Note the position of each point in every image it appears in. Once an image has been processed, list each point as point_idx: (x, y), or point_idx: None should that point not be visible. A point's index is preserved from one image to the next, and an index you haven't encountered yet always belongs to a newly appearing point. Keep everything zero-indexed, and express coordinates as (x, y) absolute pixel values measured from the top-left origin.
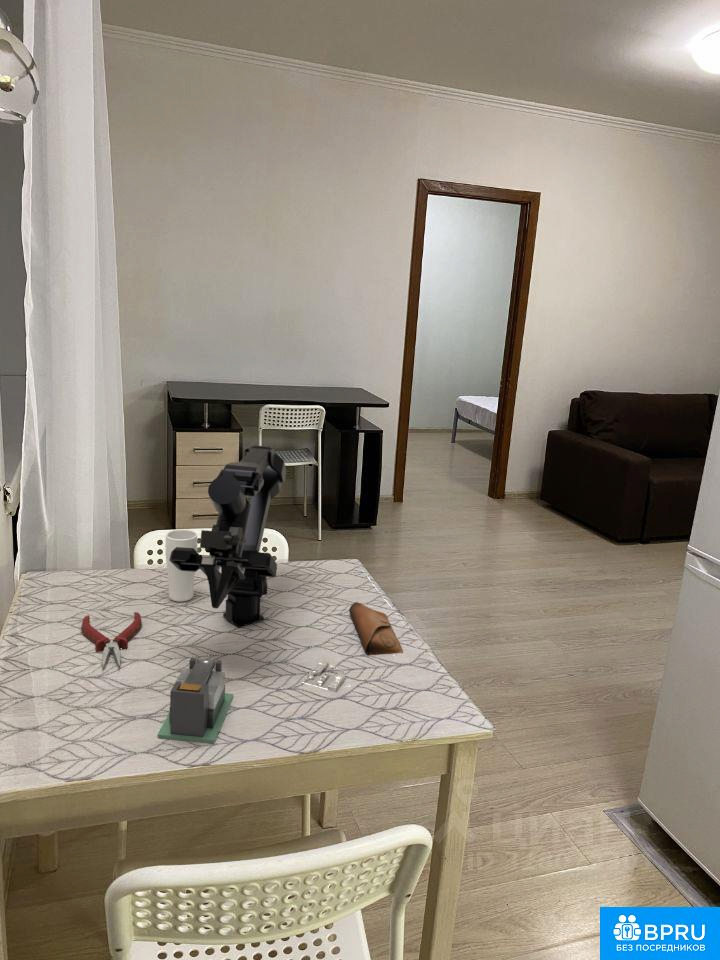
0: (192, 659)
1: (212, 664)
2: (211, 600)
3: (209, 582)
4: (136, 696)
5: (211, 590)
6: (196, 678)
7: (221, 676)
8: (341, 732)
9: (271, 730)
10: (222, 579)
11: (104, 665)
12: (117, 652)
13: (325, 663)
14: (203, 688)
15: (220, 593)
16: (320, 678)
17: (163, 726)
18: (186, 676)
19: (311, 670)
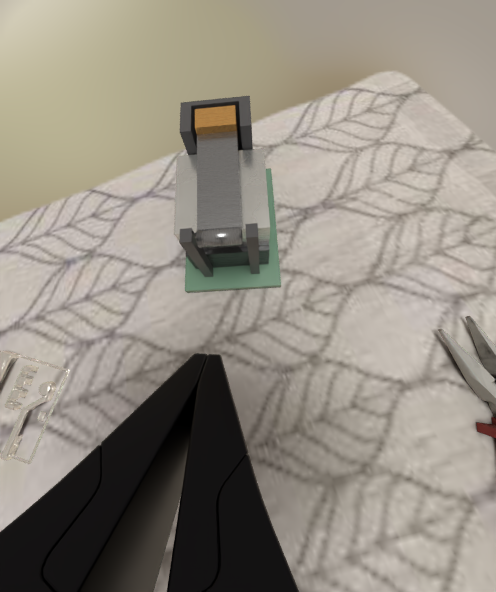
0: (252, 229)
1: (199, 226)
2: (223, 374)
3: (253, 511)
4: (352, 257)
5: (225, 429)
6: (217, 163)
7: (177, 217)
8: (12, 241)
9: (114, 223)
10: (49, 576)
11: (473, 327)
12: (481, 374)
13: (7, 450)
14: (187, 118)
15: (147, 407)
16: (23, 380)
17: (269, 185)
18: (251, 199)
19: (46, 423)
